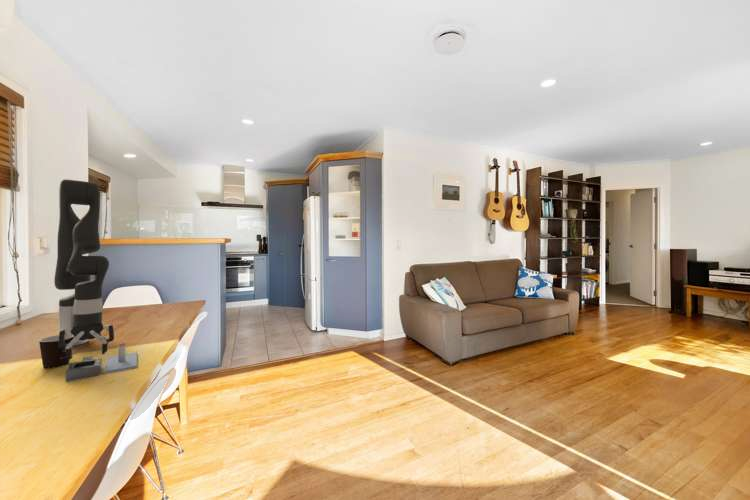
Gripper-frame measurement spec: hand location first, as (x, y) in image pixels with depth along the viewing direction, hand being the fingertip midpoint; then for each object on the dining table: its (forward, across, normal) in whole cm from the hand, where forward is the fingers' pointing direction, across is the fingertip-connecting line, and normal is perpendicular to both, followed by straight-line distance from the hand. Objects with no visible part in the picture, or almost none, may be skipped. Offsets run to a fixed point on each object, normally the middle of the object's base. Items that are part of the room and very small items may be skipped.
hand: (87, 356), depth 105 cm
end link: (+5, 0, +3) cm, 5 cm away
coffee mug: (+4, +8, -11) cm, 14 cm away
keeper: (+5, -10, 0) cm, 11 cm away
